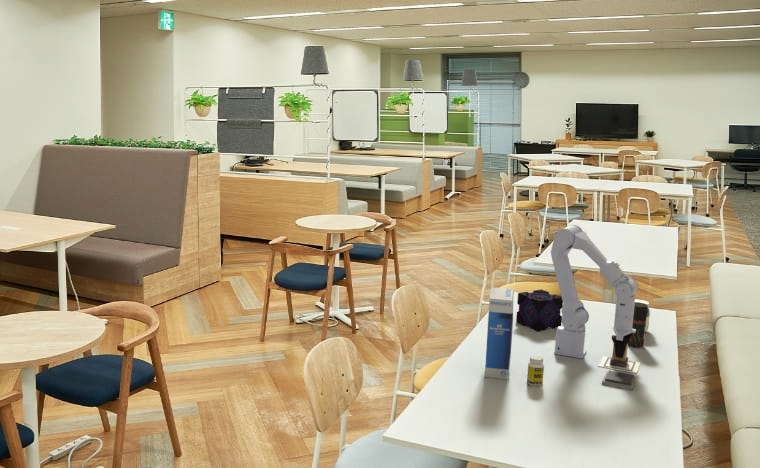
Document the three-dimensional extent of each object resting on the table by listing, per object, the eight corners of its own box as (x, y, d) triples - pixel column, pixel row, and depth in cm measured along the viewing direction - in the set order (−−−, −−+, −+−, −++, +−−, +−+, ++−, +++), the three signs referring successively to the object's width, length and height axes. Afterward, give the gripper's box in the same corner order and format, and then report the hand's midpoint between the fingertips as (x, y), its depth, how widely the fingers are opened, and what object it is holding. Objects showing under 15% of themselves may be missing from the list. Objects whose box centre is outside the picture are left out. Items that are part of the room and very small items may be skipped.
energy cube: (561, 327, 275) (563, 297, 273) (537, 331, 269) (539, 301, 267) (539, 318, 285) (541, 289, 283) (516, 322, 279) (518, 293, 277)
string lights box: (487, 362, 238) (491, 286, 232) (510, 364, 236) (515, 288, 231) (484, 377, 225) (488, 298, 220) (509, 380, 223) (514, 300, 218)
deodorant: (644, 348, 254) (648, 307, 251) (627, 346, 255) (631, 306, 252) (642, 342, 260) (646, 302, 257) (625, 341, 261) (628, 301, 258)
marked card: (598, 366, 236) (598, 365, 236) (603, 356, 245) (603, 355, 245) (636, 373, 231) (636, 372, 231) (640, 363, 240) (640, 362, 240)
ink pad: (601, 384, 222) (602, 378, 221) (606, 374, 230) (607, 369, 229) (632, 389, 218) (632, 384, 218) (636, 379, 226) (636, 374, 226)
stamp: (609, 365, 237) (611, 342, 235) (612, 360, 241) (614, 337, 240) (625, 368, 235) (627, 344, 233) (627, 363, 239) (629, 340, 238)
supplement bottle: (533, 387, 218) (535, 361, 217) (523, 381, 222) (525, 356, 221) (545, 384, 220) (547, 358, 219) (535, 379, 224) (537, 353, 223)
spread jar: (643, 337, 266) (646, 307, 263) (612, 331, 272) (615, 301, 269) (651, 328, 276) (654, 299, 273) (621, 323, 282) (624, 294, 279)
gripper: (634, 323, 226) (630, 364, 229) (639, 311, 239) (636, 350, 242) (611, 319, 229) (607, 360, 232) (617, 308, 242) (614, 346, 245)
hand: (620, 354), depth 237 cm, fingers open, 5 cm apart
